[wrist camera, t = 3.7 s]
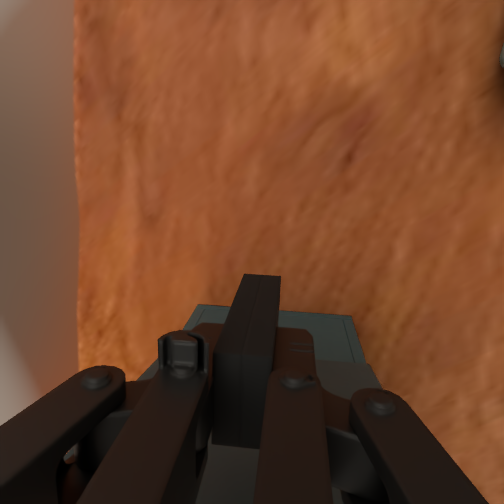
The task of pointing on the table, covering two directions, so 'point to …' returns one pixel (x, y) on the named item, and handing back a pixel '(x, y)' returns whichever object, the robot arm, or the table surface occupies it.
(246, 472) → the lid
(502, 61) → the flower pot
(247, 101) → the table surface
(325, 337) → the chest
